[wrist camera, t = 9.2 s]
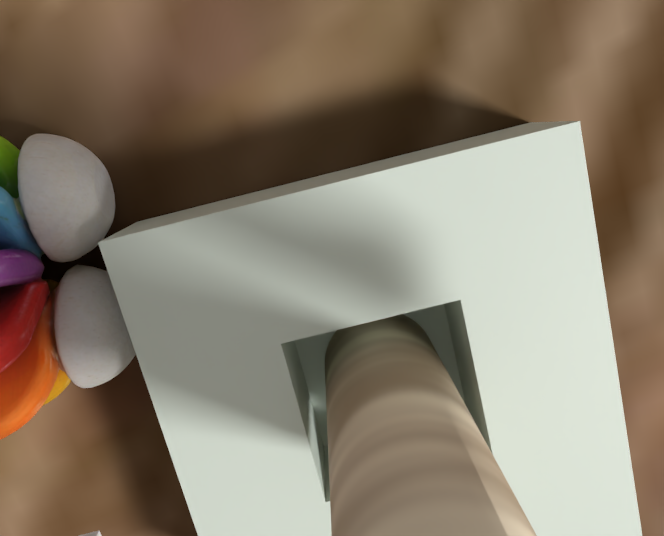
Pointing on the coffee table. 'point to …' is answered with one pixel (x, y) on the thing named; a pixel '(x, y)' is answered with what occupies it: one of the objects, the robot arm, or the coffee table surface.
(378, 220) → the socket block
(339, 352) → the peg
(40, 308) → the rainbow wheeled toy
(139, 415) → the coffee table surface
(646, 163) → the coffee table surface
